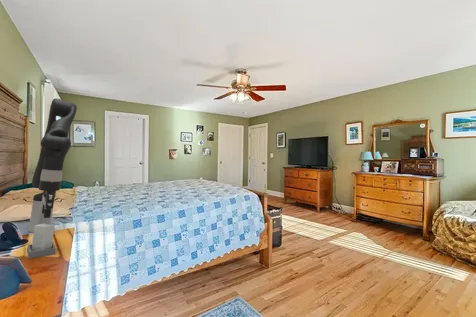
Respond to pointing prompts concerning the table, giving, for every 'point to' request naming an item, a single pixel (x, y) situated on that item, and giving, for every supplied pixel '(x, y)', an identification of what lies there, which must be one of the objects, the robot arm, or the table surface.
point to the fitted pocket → (40, 251)
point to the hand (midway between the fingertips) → (45, 215)
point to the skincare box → (42, 237)
